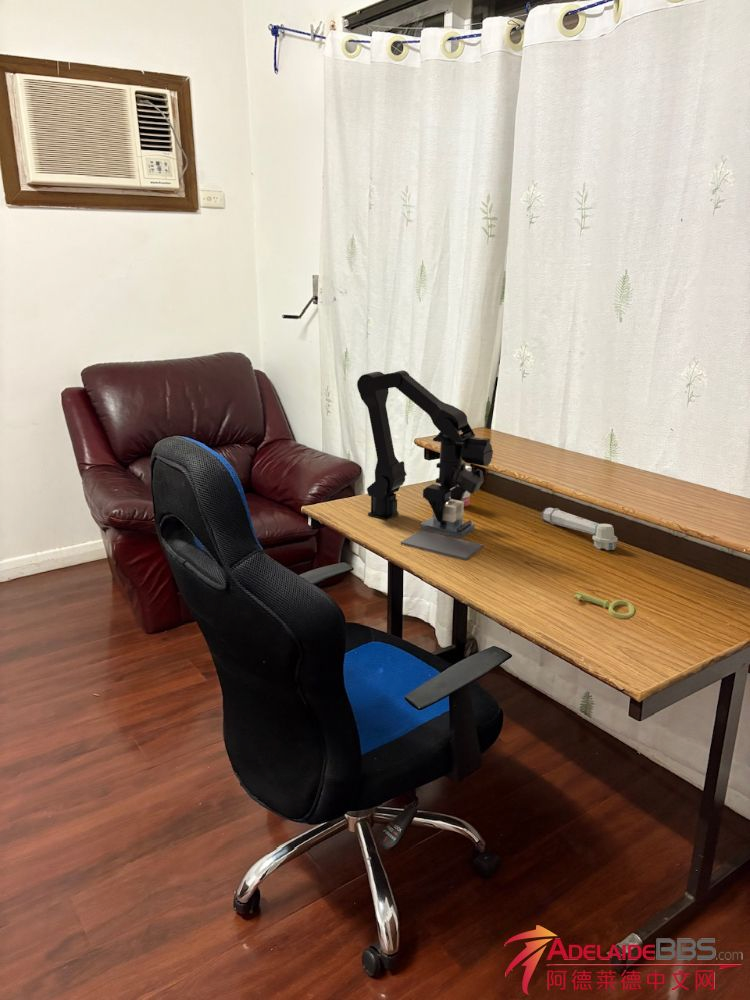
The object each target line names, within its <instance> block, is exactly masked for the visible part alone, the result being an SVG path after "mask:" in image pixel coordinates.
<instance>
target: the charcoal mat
mask: <svg viewBox="0 0 750 1000" xmlns="http://www.w3.org/2000/svg"><path fill="white" fill-rule="evenodd" d="M400 544H401V545H402V544H404V545H403V546H406V545H407V547H410V546H411V547H410V548H414V547H415V549H419V550H423V551H427V552H431V553H436V554H440V555H444V556H446V557H451V558H456V559H459V560H463V561H468V559H470V558H471V557H473V556H474V555H475V554H476V553H477V552H479V551H480V550H481V549H482V548H483V547H484V544H481V543H477V542H472V541H470V540H469V541H468V540H464V539H460V538H456V537H452V536H448V535H443V534H439V533H435V532H430V531H426V530H422V529H419V530H418V531H416V532H415V533H413V534H411V535H410V536H408V537H407V538H405V539H403V540H402V541H400Z"/></svg>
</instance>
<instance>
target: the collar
mask: <svg viewBox="0 0 750 1000" xmlns="http://www.w3.org/2000/svg"><path fill="white" fill-rule="evenodd" d="M450 502H453V505H448V504H445V510H444V515H443V520H444V521H449V522H455V521H456V520H458V519H459V518H461V517H462V518H463V517H464V510H465V508H464V502H463V501H458V500H454V499H451V500H450ZM432 517H433V518H435V519H437V518H436V516H435V514H434V512H433V511H432Z"/></svg>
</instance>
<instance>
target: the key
mask: <svg viewBox="0 0 750 1000" xmlns="http://www.w3.org/2000/svg"><path fill="white" fill-rule="evenodd" d="M573 598H574V599H576V600H578V601H579V600H582V599H583V600H585V601H588V602H589V603H590V602H591V603H594V604H596V605H598V606H602V607H603V608H604V609H606V608H608V614H609V615H610V616H612V617H614V618H617V619H627V618H631V617H632V616H633V615H634V614H635V612H636V611H635V607H634V605H633V603H631V602H629V601H628V600H624V599H616V600H613V601H611V602H610V601H609V600H608V599H606V600H603V599H601V598H598V597H595V596H592V595H589V594H586V593H585V592H582V591H579V590H577V591H576V593H575V595H574V596H573ZM620 605H622V606H626V607H628V608H629V610H628V612H626V613H619V612H617V611H615V610H614V608H615V607H617V606H620ZM634 611H635V612H634Z"/></svg>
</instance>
